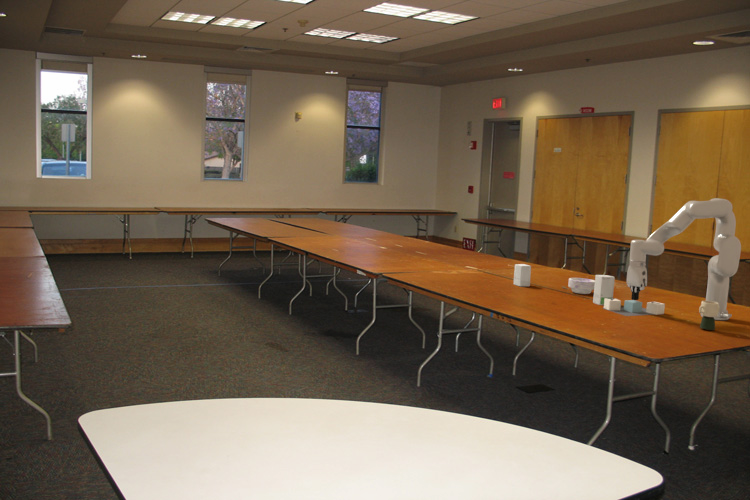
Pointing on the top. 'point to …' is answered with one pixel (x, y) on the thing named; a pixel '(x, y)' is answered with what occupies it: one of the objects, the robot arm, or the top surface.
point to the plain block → (632, 306)
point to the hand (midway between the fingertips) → (634, 299)
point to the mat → (627, 313)
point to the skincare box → (603, 288)
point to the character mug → (708, 314)
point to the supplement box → (522, 275)
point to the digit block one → (655, 308)
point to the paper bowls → (581, 285)
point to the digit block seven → (612, 304)
